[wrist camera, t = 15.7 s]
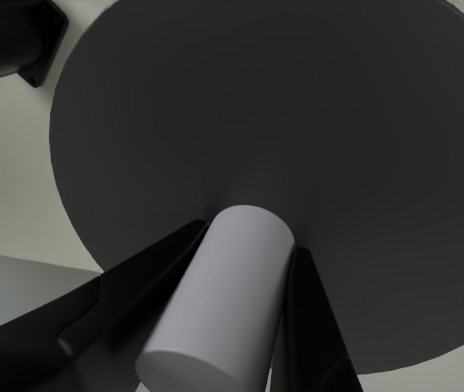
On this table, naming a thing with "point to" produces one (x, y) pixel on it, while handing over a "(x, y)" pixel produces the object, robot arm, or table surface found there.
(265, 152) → the lid
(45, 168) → the table surface
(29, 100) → the table surface
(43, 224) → the table surface
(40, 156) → the table surface
